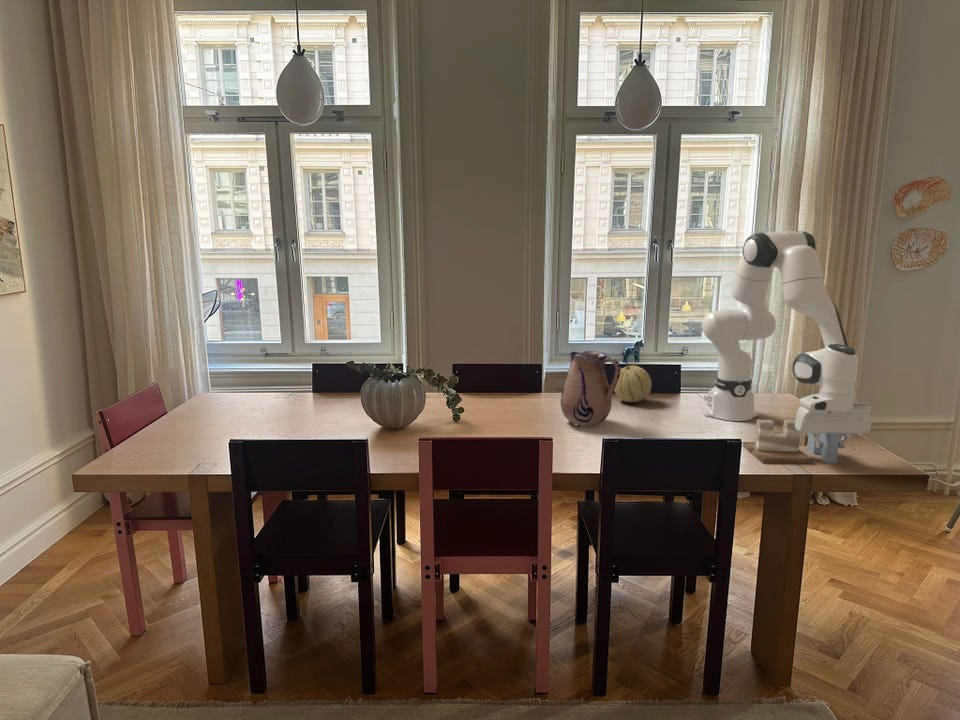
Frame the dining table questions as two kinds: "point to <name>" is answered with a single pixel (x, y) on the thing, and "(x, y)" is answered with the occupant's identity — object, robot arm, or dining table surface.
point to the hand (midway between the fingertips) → (829, 447)
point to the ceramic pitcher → (588, 388)
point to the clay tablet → (802, 436)
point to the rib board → (777, 455)
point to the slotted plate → (825, 446)
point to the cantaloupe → (633, 384)
